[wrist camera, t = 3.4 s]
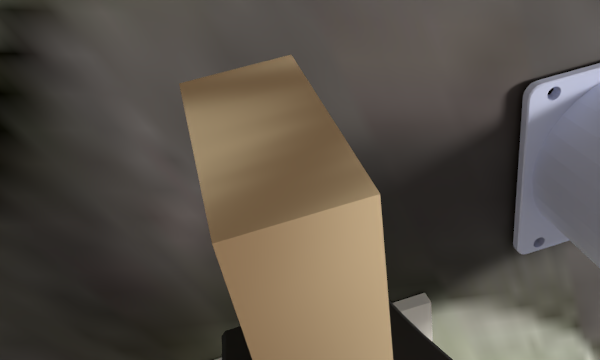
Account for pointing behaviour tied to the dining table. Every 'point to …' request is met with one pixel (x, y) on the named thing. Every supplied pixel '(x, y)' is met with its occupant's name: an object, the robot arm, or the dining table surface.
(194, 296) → the dining table surface
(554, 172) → the robot arm
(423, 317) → the floor board
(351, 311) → the blade batten
